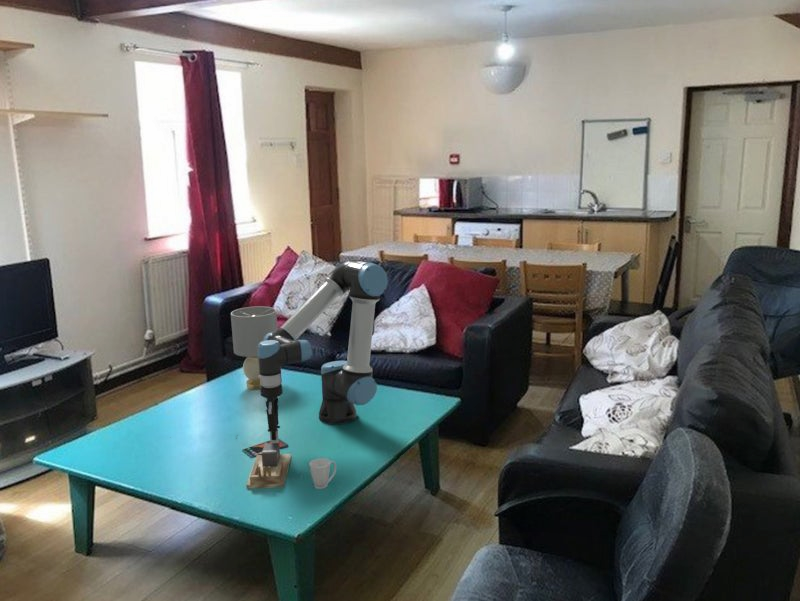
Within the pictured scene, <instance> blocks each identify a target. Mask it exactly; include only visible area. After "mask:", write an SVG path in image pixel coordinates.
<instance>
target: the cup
mask: <svg viewBox="0 0 800 601" xmlns="http://www.w3.org/2000/svg"><path fill="white" fill-rule="evenodd" d="M331 464H333V466H334V468H333V472H332V474H331V476H330V472H331V470H330V469H331ZM308 466H309V470H310V475H311V479H312V481H313V486H314V488H315V489H320V490H321V489H325V488H327V487H328V484H329V483H330V482H331V480H333V478H334V477H335V475H336V473H337V464H336V462H335V461H334V460H329V458H328V459H327V458H324V457H323V458H322V457H318V458H313V459H312V460H311V461H309V462H308Z"/></svg>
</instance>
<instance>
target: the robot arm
mask: <svg viewBox="0 0 800 601" xmlns="http://www.w3.org/2000/svg"><path fill="white" fill-rule="evenodd" d="M388 283H389V282H388V276H387V272H386V271H385V269H384V267H382V266H380V265H378V264H376V263H373V262H369V261H363V260H359V259H358V260H357V259H349V260H346V261H344V262H342V263H341V264H339V265H338V266H336V267H335V268H334V269H332V270H331V271H330V272H329V274H327V275H326V276H325V277H324V279H323V283H322V285H320V286H319V287H318V288H317V289H316V290H315V291H314V292H313V293H312V294H311V296H310V297H309V298H307V300H306V301H305V302H304V303H303V304H302V305H301V306H300V307H299V308H298V309H297V310H295V311H294V313H293V314H292V315H291V316H290V317H289V318H288V319H287V320H286V321H285V322H284V323H283V324H282V325H281V326H280V327H279V328H277V331H276V332H272V333H269V334H267V335H266V336H265V337H264V339H263V341H262V342H260V343H259V344H258V362H259V374H260V376H258V378H260V385H261V386H260V390H259V391H260V396H261V397H262V398H264V399H266V400H265V407H266V409H265V412H266V418H267V426H268V429H267V432H268V433H269V439H270V440H269V441H270V442H271V443H279V439H280V438H279V429H280V428H281V425H279V423H280V422H279V397H280V396H281V397H282V395H283V385H282V383H283V380H282V379H283V377H282V367H283V366H288V365H293V364H297V363H302V362H305V361H308V360H309V359H311V357H312V353H313V352H312V351H313V350H312V345H311V344H310V342H309V340H306V339H299V338H300V337H301V336H302V335H303V334H304V332H305V331H307V329H308V328H309V327H310V326H311V325H312V324H313V323H314V322H315V321H316V320H317V319H318V318H319V317H320V316H321V315H322V314H323V313H324V312H325V311H326V310H327V309H328V307H329V306H331V305H332V304H333V302H334V301H335V300H336V299H337V298H339V297H343V295H345V293H347V292H349V294H348V295H349V296H348V298H350V299H351V301H352V306H351V308H352V309H351V316H350V317H351V318H350V327H349V328H350V329H349V337H348V338H349V339H348V346H347V347H348V348H347V349H348V350H347V359H346V360H335V361H334V360H333V361H330V362H325V363H324V364H322V366H321V370H320V375H321V376H320V377H321V378H320V379H321V391H322V392H321V393H322V402H321V404H320V408H319V410H318V411H319V412H318V418H319V421H320V422H321V423H324V424H328V425H344V424H347V423H351V422H353V421H355V420H356V419H357V416H358V415H357V409H356V406H364V405H366V404H369V403H370V402H371V400H373V399H374V398H375V396H376V393H377V391H378V390H377V389H378V384H377V381H375V379H374V378H373V368H372V366H370V363H371V362H370V360H371V352H372V343H373V342H372V340H373V332H374V331H373V330H374V322H375V321H374V320H375V313H376V311H375V309H376V303H378V302H379V301H380V300H381V295H383V294H384V291H385V290H386V289H387V287H388ZM297 339H298V340H297ZM355 405H356V406H355Z"/></svg>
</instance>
